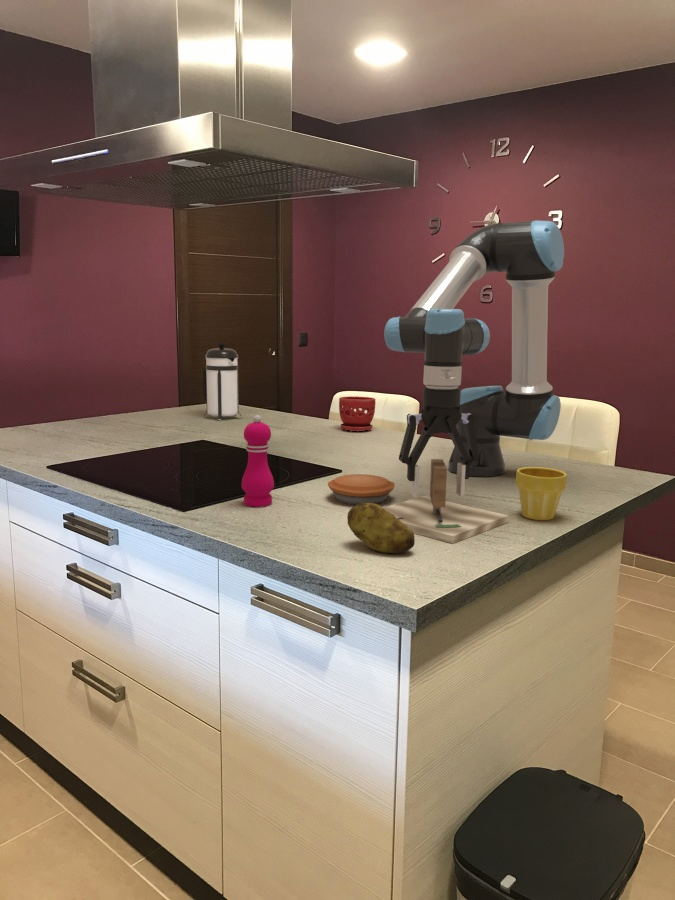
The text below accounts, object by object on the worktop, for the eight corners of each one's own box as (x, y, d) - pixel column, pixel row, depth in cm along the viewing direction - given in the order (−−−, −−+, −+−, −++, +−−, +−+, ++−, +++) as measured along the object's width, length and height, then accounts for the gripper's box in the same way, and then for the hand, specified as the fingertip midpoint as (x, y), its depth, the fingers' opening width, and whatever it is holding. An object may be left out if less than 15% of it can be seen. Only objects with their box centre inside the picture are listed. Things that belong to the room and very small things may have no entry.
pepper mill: (258, 497, 167) (257, 411, 163) (280, 503, 163) (280, 415, 159) (235, 503, 162) (233, 415, 158) (257, 509, 157) (257, 418, 153)
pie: (331, 489, 176) (331, 469, 175) (395, 492, 174) (395, 472, 174) (323, 506, 161) (323, 484, 160) (393, 509, 159) (393, 487, 158)
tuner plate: (423, 502, 165) (423, 495, 165) (508, 522, 150) (508, 514, 150) (365, 519, 151) (365, 511, 151) (452, 543, 136) (452, 535, 136)
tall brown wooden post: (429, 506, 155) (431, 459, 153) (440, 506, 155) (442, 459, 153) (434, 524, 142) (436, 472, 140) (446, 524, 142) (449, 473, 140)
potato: (385, 562, 126) (386, 518, 124) (339, 543, 136) (340, 502, 134) (419, 553, 131) (421, 510, 129) (373, 535, 140) (374, 495, 139)
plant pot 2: (571, 516, 156) (575, 471, 154) (550, 526, 148) (553, 479, 146) (527, 507, 162) (530, 464, 161) (504, 516, 155) (507, 471, 153)
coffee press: (246, 415, 294) (245, 341, 289) (236, 421, 279) (235, 342, 273) (204, 414, 296) (202, 340, 290) (193, 420, 280) (191, 342, 275)
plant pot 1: (379, 432, 258) (380, 399, 256) (343, 433, 255) (343, 399, 253) (369, 426, 271) (370, 394, 268) (335, 427, 268) (335, 395, 265)
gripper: (394, 389, 140) (391, 502, 144) (500, 388, 144) (494, 498, 148) (384, 385, 147) (381, 492, 151) (486, 384, 151) (480, 489, 155)
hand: (437, 495), depth 150 cm, fingers open, 9 cm apart
